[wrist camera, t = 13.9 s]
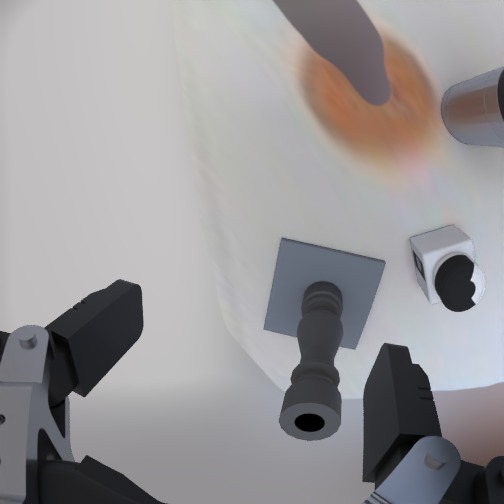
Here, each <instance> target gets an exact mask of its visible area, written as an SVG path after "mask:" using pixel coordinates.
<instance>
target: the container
mask: <svg viewBox="0 0 504 504" xmlns="http://www.w3.org/2000/svg"><path fill="white" fill-rule="evenodd" d="M410 242H411V247H412V252H413V257H414V262H415V267H416V273H417V278H418V283H419V285H420V286H421V288H422V290H423V292H424V294H425V295H426V297H427V299H428V301H429V303H430V304H431V305H433V304H436V303H439V302H443V304H444V305H445V307H446V308H448V309H449V310H451V311H454V312H462V311H465V310H468V309H470V308H472V307H473V306H474V305H476V304H477V302H478V301H479V300H480V299H481V297H482V295H483V293H484V290H485V286H486V277H485V274H484V271H483V270H482V268H481V267H480V266H479V265H478V264H477V263H476V262H475V254H474V245H473V240H472V239H471V238H470V237H469V236H467V235H466V234H465V233H464V232H462V231H461V230H460V229H458V228H457V227H456V226H454V225H450V226H447V227H444V228H441V229H437V230H434V231H431V232H428V233H424V234H421V235H418V236H415V237H412V238H410Z"/></svg>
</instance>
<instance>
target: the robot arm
mask: <svg viewBox="0 0 504 504" xmlns="http://www.w3.org/2000/svg"><path fill="white" fill-rule="evenodd" d="M441 111H442V117H443V120H444V123H445V125H446V127H447V129H448V130H449V132H450V133H451V134H452V135H453V136H454V137H455V138H456V139H457V140H459V141H460V142H462V143H465V144H470V145H480V146H492V147H503V148H504V66H503V67H500V68H498V69H495V70H492V71H490V72H487V73H485V74H482V75H479V76H477V77H474V78H472V79H469V80H467V81H464V82H462V83H459V84H457V85H454V86H452V87H451V88H449V89H448V91H447V92H446V93H445V95H444V97H443V100H442V108H441ZM142 330H143V307H142V291H141V287H140V286H139V285H138V284H134V283H131V282H127V281H124V280H121V279H119V280H117V281H115V282H114V283H112V284H111V285H110V286H108V287H107V288H106V289H102V290H99V291H97V292H94V293H91V294H90V295H88V296H87V297H85V298H84V299H83V300H81V302H78V303H77V304H76V305H74V306H73V308H70V309H69V310H68V311H66V312H65V313H64V314H62V315H61V316H59V317H58V318H57V319H56V320H54V321H53V322H52V323H50V324H49V325H47V326H46V327H45V328H43V327H41V326H36V325H27V326H23V327H20V328H18V329H16V330H15V331H14V332H12V333H7V332H2V331H0V504H165V503H162V502H160V501H158V500H156V499H155V498H153V497H152V496H150V495H149V494H148V493H146V492H145V491H144V490H142V489H141V488H140V487H138V486H137V485H136V484H134V483H133V482H132V481H131V480H129V479H128V478H127V477H125V476H124V475H123V474H121V473H119V472H117V471H115V470H113V469H111V468H110V467H108V466H106V465H104V464H102V463H100V462H98V461H97V460H95V459H93V458H91V457H89V456H88V455H86V456H85V458H84V459H83V460H82V462H81V463H78V462H75V461H74V457H73V454H72V451H71V445H70V418H69V417H70V415H69V414H70V413H69V412H70V408H69V405H70V402H69V398H68V395H69V394H70V393H71V392H72V391H74V392H75V393H77V394H79V395H81V396H83V397H86V395H87V394H88V393H89V392H90V391H91V390H92V389H93V388H94V387H95V386H96V385H97V383H98V382H99V381H100V380H101V379H102V378H103V377H104V376H105V375H106V374H107V373H108V371H109V370H110V369H111V368H112V367H113V366H114V365H115V364H116V363H117V362H118V361H119V360H120V358H121V357H122V356H123V355H124V354H125V353H126V352H127V351H128V350H129V349H130V348H131V347H132V346H133V344H134V343H135V342H136V341H137V340H138V339H139V337H140V336H141V333H142ZM430 390H431V387H430V383H429V379H428V376H427V375H426V373H425V372H424V371H423V369H422V368H421V367H420V365H419V364H412V361H411V357H410V353H409V349H408V347H407V346H401V345H394V344H389V343H384V344H383V345H382V347H381V349H380V352H379V354H378V356H377V359H376V361H375V363H374V366H373V368H372V370H371V372H370V375H369V377H368V379H367V382H366V385H365V389H364V395H363V403H364V404H363V407H364V451H363V454H364V455H363V482H372V483H374V482H375V491H374V492H373V493H372V494H371V495H370V496H369V497H368V499H367V500H366V501H365V502H364V503H363V504H504V456H498V457H495V458H493V459H492V460H491V461H490V462H489V463H488V464H487V465H486V466H485V467H483V466H479V465H476V464H472V463H469V462H465V461H463V460H461V459H460V454H459V452H458V450H457V449H456V447H455V446H454V445H453V444H452V443H451V442H450V441H448V440H446V439H444V438H442V434H441V429H440V424H439V420H438V415H437V411H436V407H435V403H434V401H433V395H432V391H430Z"/></svg>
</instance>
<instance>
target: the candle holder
mask: <svg viewBox="0 0 504 504" xmlns="http://www.w3.org/2000/svg"><path fill="white" fill-rule="evenodd" d="M301 311H302V317H303V318H302V319H301V320H300V322H299V324H298V328H297V332H296V333H297V338H298V342H299V347H300V352H301V361H300V364H298V365H297V367H296V368H295V369H294V370H293V372H292V376H291V383H292V385H291V386H290V388H289V389H288V390H287V391H286V393H285V397H284V401H283V406H282V410H281V414H280V418H279V423H280V426H281V428H282V429H283V430H284V431H285V432H286V433H287V434H288V435H290V436H293V437H295V438H297V439H302V440H307V441H312V440H321V439H324V438H327V437H330V436H331V435H333V434H334V433H335V432H337V430H338V428H339V426H340V424H341V394H340V392H339V391H338V388H337V387H338V385H339V382H340V378H339V372H338V370H337V369H336V368H335V367H334V358H335V355H336V353H337V350H338V348H339V345H340V343H341V340H342V337H343V334H344V331H343V325H342V322H341V321H340V318H341V315H342V311H343V299H342V293H341V291H340V290H339V288H338V287H337V286H336V285H334V284H333V283H331V282H326V281H319V282H315V283H313V284H311V285H310V286H308V288H307V289H306V290H305V292H304V296H303V301H302V306H301Z"/></svg>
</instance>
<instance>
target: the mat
mask: <svg viewBox="0 0 504 504" xmlns="http://www.w3.org/2000/svg"><path fill="white" fill-rule="evenodd" d="M385 264H386V263H385V261H383V260H378V259H374V258H370V257H365V256H361V255H357V254H352V253H348V252H344V251H339V250H335V249H330V248H326V247H321V246H317V245H312V244H308V243H303V242H299V241H294V240H290V239H285V238H282V239H281V243H280V248H279V253H278V259H277V264H276V269H275V274H274V279H273V284H272V290H271V295H270V300H269V305H268V310H267V315H266V320H265V325H264V330H268V331H272V332H276V333H280V334H285V335H289V336H293V337H297V333H296V332H297V328H298V324H299V322H300V320H301V319H302V318H303V317H302V311H301V306H302V301H303V296H304V292H305V290H306V289H307V288H308V286H310V285H311V284H313V283H315V282H319V281H326V282H331V283H333V284H334V285H336V286H337V287H338V288H339V290H340V291H341V293H342V299H343V311H342V315H341V318H340V321H341V322H342V325H343V331H344V334H343V337H342V340H341V343H340V345H339V347H344V348H349V349H356V347H357V344H358V341H359V339H360V336H361V334H362V331H363V328H364V326H365V323H366V320H367V318H368V315H369V312H370V309H371V306H372V303H373V301H374V298H375V295H376V292H377V289H378V286H379V283H380V280H381V276H382V273H383V270H384V267H385Z"/></svg>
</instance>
